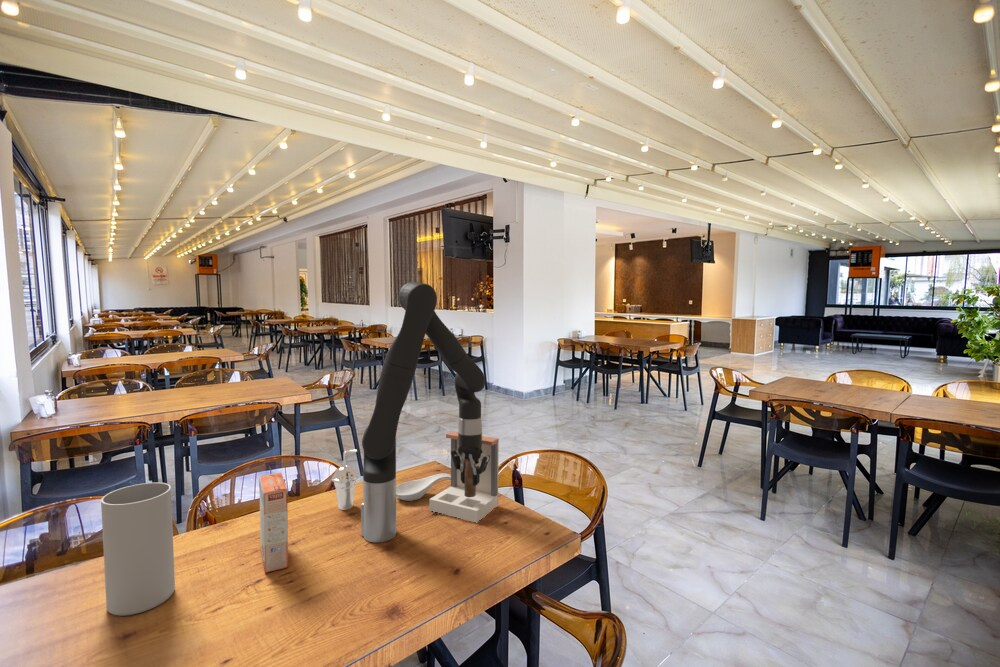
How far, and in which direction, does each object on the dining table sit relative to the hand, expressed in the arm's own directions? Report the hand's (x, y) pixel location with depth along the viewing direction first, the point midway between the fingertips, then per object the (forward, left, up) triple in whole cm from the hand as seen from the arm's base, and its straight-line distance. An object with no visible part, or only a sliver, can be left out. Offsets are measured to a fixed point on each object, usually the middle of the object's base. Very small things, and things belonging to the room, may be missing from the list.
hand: (470, 483), depth 152 cm
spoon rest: (-21, +6, -11) cm, 25 cm away
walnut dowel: (0, 0, -4) cm, 4 cm away
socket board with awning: (-4, +3, -10) cm, 11 cm away
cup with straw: (-39, -15, -11) cm, 43 cm away
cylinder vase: (-43, -73, -11) cm, 85 cm away
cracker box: (-32, -47, -11) cm, 58 cm away
